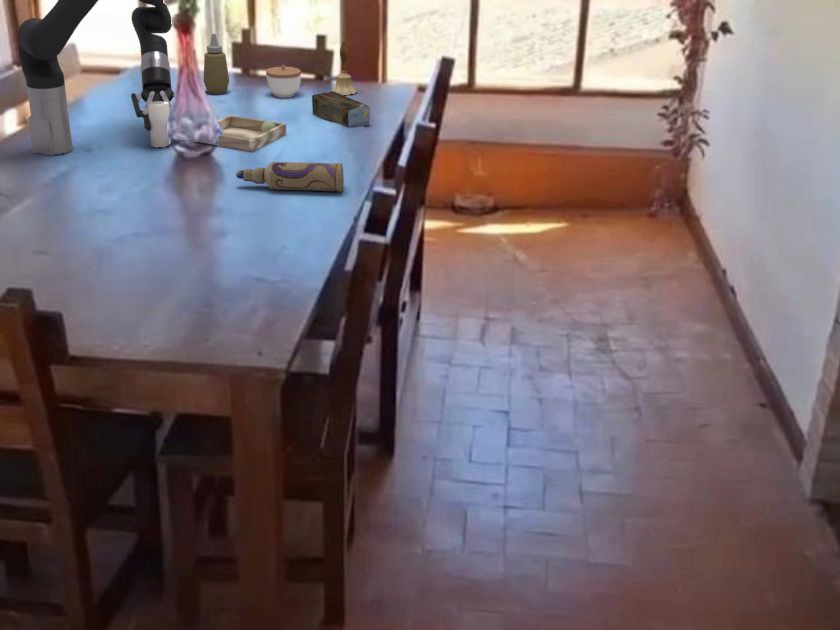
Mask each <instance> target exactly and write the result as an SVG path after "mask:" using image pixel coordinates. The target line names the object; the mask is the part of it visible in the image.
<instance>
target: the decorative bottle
mask: <svg viewBox="0 0 840 630" xmlns="http://www.w3.org/2000/svg"><path fill="white" fill-rule="evenodd" d="M235 175H236V178H237V179H240V180H241V179H242V181H245V182H252V183H255V184H256V185H259V184H260V185H266V186H268V188H269V189H271V190H280V191H282V190H283V191H284V190H285V191H309V192H313V191H315V192H316V191H319V192H320V191H321V192H322V191H323V192H338V193H342V192H343V190H344V184H345V183H344V181H345V180H344V167H343V164H342V163H341V162H338V163H333V162H331V163H330V162H326V163H325V162H307V161H306V162H305V161H303V162H302V161H300V162H298V161H297V162H295V161H294V162H293V161H289V162H287V161H271V162H270V163H269V164H268V166H267V167H256V168H254V169H253V168H252V169H251V168H247V169H244V170H242V169H241V170H238V171H237V172H236V174H235Z"/></svg>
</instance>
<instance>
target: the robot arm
mask: <svg viewBox="0 0 840 630" xmlns="http://www.w3.org/2000/svg"><path fill="white" fill-rule="evenodd" d="M138 1H139V2H140V3H143V4H146V5H150V6H139V7H136V8H134V10H133V11H132V13H131V17H130V18H131V23H132V26H133V29H134V32H135V33H136V36H137V38H138V41H139V46H140V59H141V61H140V72H141V75H140V76H141V84H142V85H141V87H142V88H141V89H142V91H141V92H140V93H134V92H133V93H131V94H130V95H131V96H130V98H131V102H132V106H133V109H134V113H135V115H136V117H137V118H142V119H143V127H144V129H145V130H147V132H150V124H149V114H148V103H150V102H154V101H164V102H168V103H169V112H170V110H171V107H172V108H173V106H172V104H171V102H172V100H173V99H174V97H175V93H176V92H174V91H173V89H172V81H171V79H172V77H171V67H170V61H169V52H168V44H167V40H166V39H165V38H164V37H163V36H161V35H160V34H167V33H168V32H170V30H171V29H172V27H173V23H172V24H171V18H172V16H171V13H170V10H169V8H168V5H167V4H166V5H165V4H164V3H163V0H138ZM98 2H99V0H57V2H56V3H55V5H54V6H52V8H51V9H50V10H49V11H48V13H47V14H46V15H45V16H43V18H37V17H31V18H28V19H26V20H24V21H23V22H22V23H21V24H20V26H19V28H18V30H17V35H16V36H17V47H18V48H17V49H18V54H19V60H20V65H21V71H22V73H23V76H24V79H25V83H26V89H27V90H26V91H27V96H28V97H27V98H28V104H29V111H30V115H29V117H28V119H27V120H28V125H29V126H28V127H29V132H30V141H31V148H32V152H36V153H35V154H38V153H42V154H41V155H43V154H47V155H46V156H49V155H53V156H56V155H55V154H58V155H63V154H62V153H64V154H66V153H67V154H68V153H70V152H71V151H72V150H73V148H74V147H73V140H72V139H73V138H72V132H71V130H72V129H71V122H70V117H69V116H70V114H69V107H68V106H69V105H68V100H67V92H66V91H67V90H66V89H67V88H66V82H65V75H64V72H63V70H62V68H61V66H60V63H59V60H58V56H59V55H60V54H61V52H63V49H65V47H66V45H67V44H68V42H69V40H70V38H71V37H72V36H73V34H74V32H75V30H76V29H77V28H78V27H79V25H80V23H82V21H83V20H84V19H85V17H86V16H87V15H88V14H89V13H90V11H92V9H93V8H94V6H95V5H96V4H97V3H98ZM158 34H159V35H158ZM141 100H143V101H144V102H145V106H144V109H143V110H141V108H140V104H139V103H140V102H141ZM69 151H70V152H69Z"/></svg>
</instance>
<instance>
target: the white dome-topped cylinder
mask: <svg viewBox="0 0 840 630" xmlns="http://www.w3.org/2000/svg"><path fill="white" fill-rule="evenodd" d="M169 113H170V112H169V103H168V102H164V101H154V102H150V103H148V114H149V124H150V131H149V137H150V145H151V147H153V148H158V147H162V148H166V147H165V146H168V145H169V141H168V137H167V119H168V116H169ZM169 146H170V145H169Z"/></svg>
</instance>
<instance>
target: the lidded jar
mask: <svg viewBox="0 0 840 630" xmlns="http://www.w3.org/2000/svg"><path fill="white" fill-rule="evenodd" d="M265 74H266V75H265V76H266V83H267V86H268V87H267V88H268V89H269V91H270V93H272V94H273V95H274V97H276V98H285V99H286V98H292V97H294V95H295V94H296V93H297V92H298V90H299V88H300V85H301V78H302V77H301V75H302V71H301V69H300V68H297V67H294V66H286V65H285V64H281V66H275V67H270V68H268V69H266V70H265Z"/></svg>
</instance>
